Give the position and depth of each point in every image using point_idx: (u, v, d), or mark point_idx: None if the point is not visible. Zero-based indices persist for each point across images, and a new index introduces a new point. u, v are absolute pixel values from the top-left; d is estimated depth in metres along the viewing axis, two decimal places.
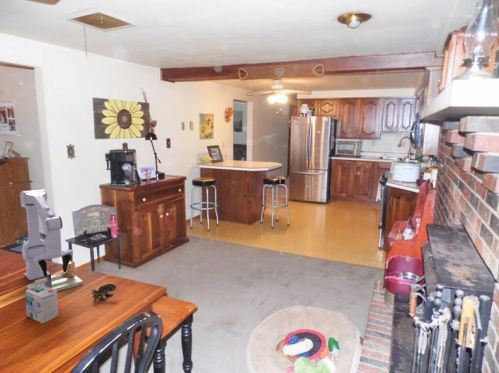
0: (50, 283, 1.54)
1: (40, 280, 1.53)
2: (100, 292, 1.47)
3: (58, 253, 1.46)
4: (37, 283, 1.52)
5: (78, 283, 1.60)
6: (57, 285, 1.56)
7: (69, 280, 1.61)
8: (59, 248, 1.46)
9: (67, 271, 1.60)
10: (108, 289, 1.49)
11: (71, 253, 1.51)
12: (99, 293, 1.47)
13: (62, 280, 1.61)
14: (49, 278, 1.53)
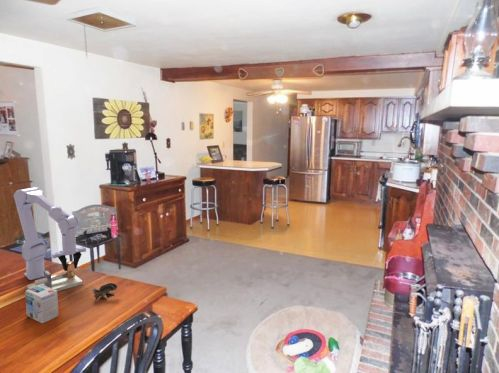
0: (50, 283, 1.54)
1: (40, 280, 1.53)
2: (101, 291, 1.48)
3: (73, 250, 1.60)
4: (37, 283, 1.52)
5: (78, 283, 1.60)
6: (57, 285, 1.56)
7: (69, 280, 1.61)
8: (74, 245, 1.60)
9: (67, 271, 1.60)
10: (109, 288, 1.50)
11: (85, 250, 1.65)
12: (100, 292, 1.48)
13: (62, 280, 1.61)
14: (49, 278, 1.53)
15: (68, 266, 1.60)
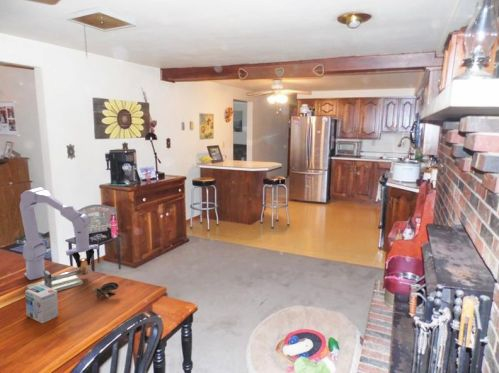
0: (50, 283, 1.54)
1: (55, 276, 1.57)
2: (103, 290, 1.49)
3: (86, 247, 1.64)
4: (52, 279, 1.56)
5: (78, 283, 1.60)
6: (57, 285, 1.56)
7: (69, 280, 1.61)
8: (87, 243, 1.64)
9: (80, 268, 1.65)
10: (111, 287, 1.51)
11: (97, 247, 1.69)
12: (102, 291, 1.48)
13: (62, 280, 1.61)
14: (49, 278, 1.53)
15: (81, 263, 1.64)
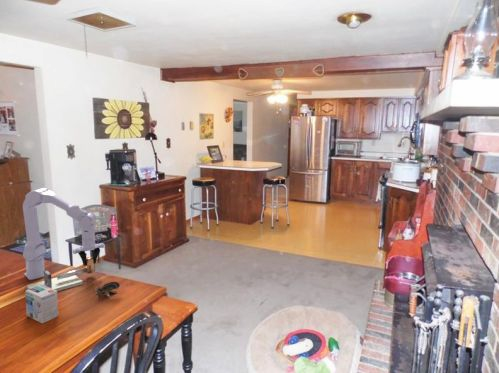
0: (50, 283, 1.54)
1: (62, 274, 1.59)
2: (104, 290, 1.50)
3: (93, 246, 1.66)
4: (59, 277, 1.58)
5: (78, 283, 1.60)
6: (57, 285, 1.56)
7: (69, 280, 1.61)
8: (93, 241, 1.66)
9: (87, 266, 1.67)
10: (112, 287, 1.51)
11: (103, 246, 1.72)
12: (103, 291, 1.49)
13: (62, 280, 1.61)
14: (49, 278, 1.53)
15: (88, 261, 1.67)
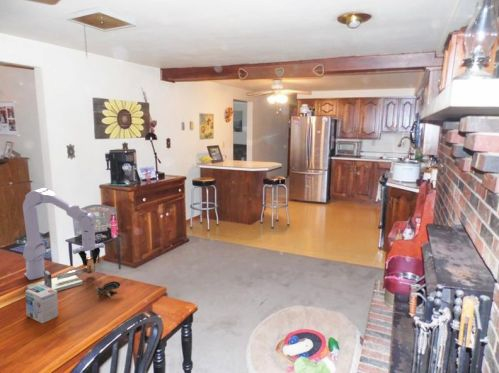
0: (50, 283, 1.54)
1: (62, 274, 1.59)
2: (105, 289, 1.50)
3: (93, 246, 1.66)
4: (59, 277, 1.58)
5: (78, 283, 1.60)
6: (57, 285, 1.56)
7: (69, 280, 1.61)
8: (93, 241, 1.66)
9: (87, 266, 1.67)
10: (112, 286, 1.52)
11: (103, 246, 1.72)
12: (104, 290, 1.49)
13: (62, 280, 1.61)
14: (49, 278, 1.53)
15: (88, 261, 1.67)
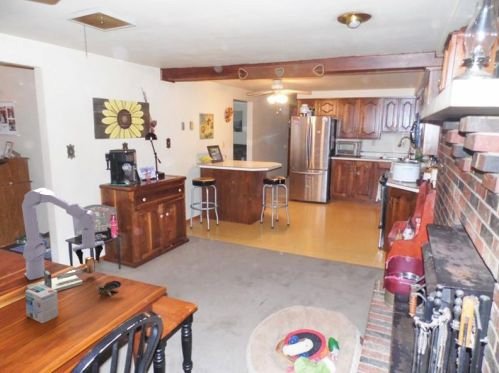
0: (50, 283, 1.54)
1: (62, 274, 1.59)
2: (106, 289, 1.51)
3: (92, 243, 1.66)
4: (59, 277, 1.58)
5: (78, 283, 1.60)
6: (57, 285, 1.56)
7: (69, 280, 1.61)
8: (93, 239, 1.66)
9: (87, 266, 1.67)
10: (113, 286, 1.52)
11: (103, 244, 1.71)
12: (105, 290, 1.50)
13: (62, 280, 1.61)
14: (49, 278, 1.53)
15: (88, 261, 1.67)
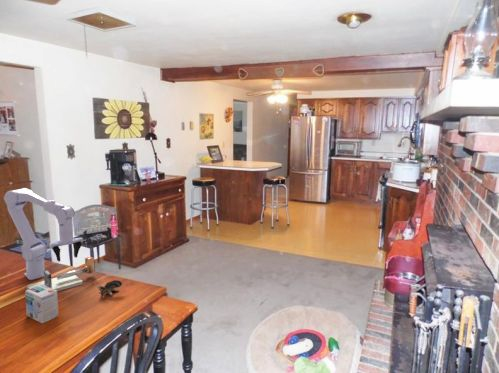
0: (50, 283, 1.54)
1: (62, 274, 1.59)
2: (107, 288, 1.51)
3: (70, 240, 1.62)
4: (59, 277, 1.58)
5: (78, 283, 1.60)
6: (57, 285, 1.56)
7: (69, 280, 1.61)
8: (71, 235, 1.62)
9: (87, 266, 1.67)
10: (114, 285, 1.53)
11: (81, 240, 1.67)
12: (106, 289, 1.51)
13: (62, 280, 1.61)
14: (49, 278, 1.53)
15: (88, 261, 1.67)
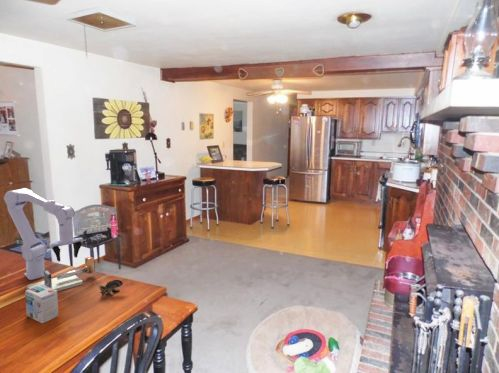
0: (50, 283, 1.54)
1: (62, 274, 1.59)
2: (107, 288, 1.52)
3: (70, 240, 1.62)
4: (59, 277, 1.58)
5: (78, 283, 1.60)
6: (57, 285, 1.56)
7: (69, 280, 1.61)
8: (71, 235, 1.62)
9: (87, 266, 1.67)
10: (115, 285, 1.53)
11: (81, 240, 1.67)
12: (106, 289, 1.51)
13: (62, 280, 1.61)
14: (49, 278, 1.53)
15: (88, 261, 1.67)
